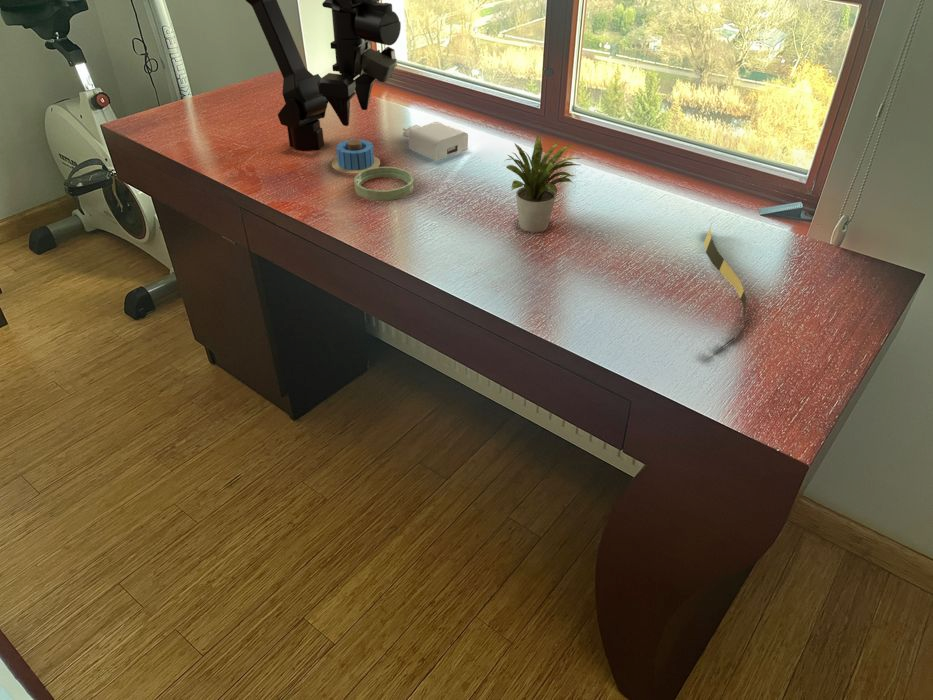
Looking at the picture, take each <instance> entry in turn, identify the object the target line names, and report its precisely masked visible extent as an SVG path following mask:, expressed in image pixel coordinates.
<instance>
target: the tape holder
mask: <svg viewBox="0 0 933 700" xmlns="http://www.w3.org/2000/svg"><path fill="white" fill-rule="evenodd" d="M350 140H351V141H348V143H347V144H348V150H350V151H358V150H362V145H361V141H359V139H358V140H353V139H350ZM380 165H381V160H380V158H378V157H377V156H375V155H374V164H373V165H372V166H370V167H369V168H365V169H362V170H347V169H344V168H341V167H340V166H339V165H338V160H337V157H336V158H334V159H333V160H332V162H331V167H332V168H333V169H334V170H335V171H338V172H341V173H347V174H358V173H360V172H362V171H364V170H366V169H370V168H375V167H380Z"/></svg>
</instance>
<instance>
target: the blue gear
mask: <svg viewBox="0 0 933 700" xmlns="http://www.w3.org/2000/svg"><path fill="white" fill-rule="evenodd" d="M351 140H359V141H361V145H362V150H358V151H350V150H348V144H347V143H348V141H351ZM335 149H336V158H337V160H338V165H339V166H340V167H341V168H344V169H347V170H362V169H365V168H369V167H370V166H372V165H373V164H374V156H375V155H374V144H373V143H372V142H371V141H369V140H365V139H346V140H343V141H340V142H339V143H337V144H336V147H335Z"/></svg>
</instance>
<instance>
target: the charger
mask: <svg viewBox="0 0 933 700" xmlns="http://www.w3.org/2000/svg"><path fill="white" fill-rule="evenodd" d="M402 131H403V133H402V136H403V137H405V138H408V149H409V150H411V151H412V152H415V153H417V154H420V155H421V156H423V157H427V158H429V159H431V160H433V161H435V162H436V161H440V160H442V159H445V158H448V157H451V156H454V155H456V154H459V153H461V152H464V151H468V149H469V133H467V132H465V131H463V130H460V129H458V128H455V127H452V126H450V125H447V124H445V123H443V122H440V121H433V122H431V123H428V124H424V125H418V124H415V125H412V126H410V125H409V126H408V127H407V128H406V127H405V128H404V127H403V128H402Z"/></svg>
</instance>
